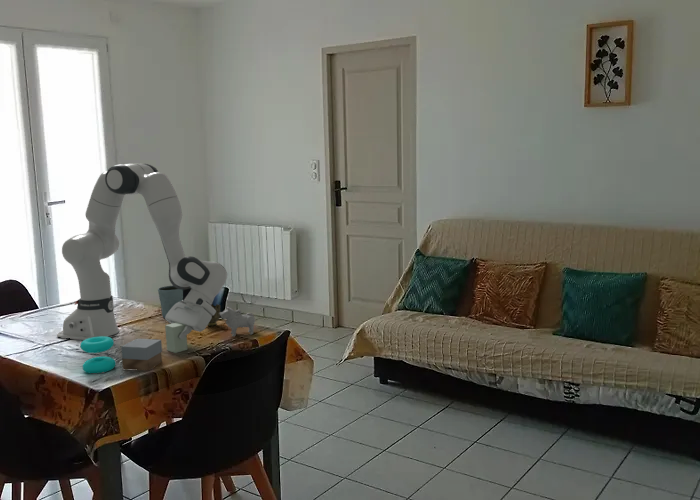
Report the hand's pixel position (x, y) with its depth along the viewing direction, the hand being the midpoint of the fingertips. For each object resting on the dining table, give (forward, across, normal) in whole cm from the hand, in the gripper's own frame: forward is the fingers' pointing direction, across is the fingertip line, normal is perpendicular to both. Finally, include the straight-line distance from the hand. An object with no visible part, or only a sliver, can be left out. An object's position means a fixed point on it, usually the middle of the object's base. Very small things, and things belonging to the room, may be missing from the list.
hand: (174, 336), depth 241 cm
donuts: (+23, -2, -16) cm, 28 cm away
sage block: (+3, 0, +4) cm, 5 cm away
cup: (-16, -17, +23) cm, 33 cm away
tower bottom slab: (+15, +6, -8) cm, 18 cm away
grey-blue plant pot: (-15, -45, +23) cm, 52 cm away
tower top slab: (+12, +6, -10) cm, 17 cm away
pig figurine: (-15, +1, +22) cm, 27 cm away
